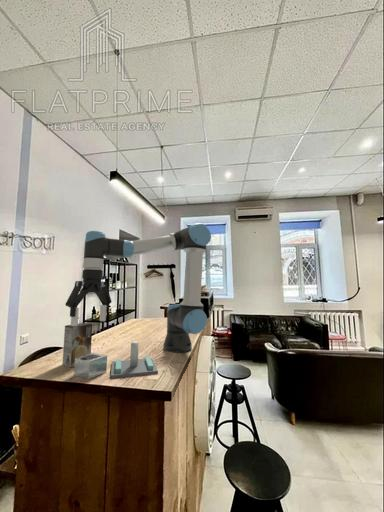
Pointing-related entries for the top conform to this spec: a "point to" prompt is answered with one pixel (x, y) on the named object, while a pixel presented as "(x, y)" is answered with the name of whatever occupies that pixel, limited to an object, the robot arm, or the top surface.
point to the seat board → (132, 369)
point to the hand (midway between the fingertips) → (89, 323)
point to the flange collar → (90, 365)
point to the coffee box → (76, 342)
